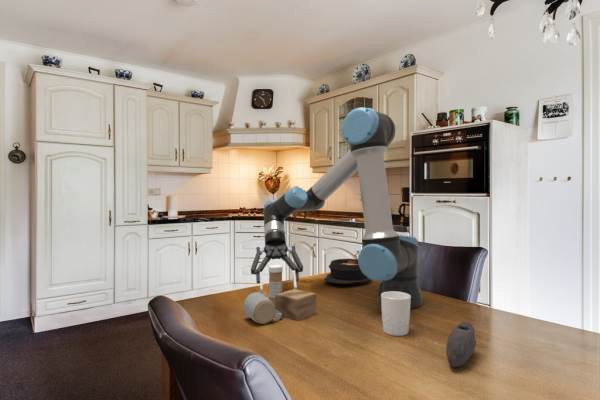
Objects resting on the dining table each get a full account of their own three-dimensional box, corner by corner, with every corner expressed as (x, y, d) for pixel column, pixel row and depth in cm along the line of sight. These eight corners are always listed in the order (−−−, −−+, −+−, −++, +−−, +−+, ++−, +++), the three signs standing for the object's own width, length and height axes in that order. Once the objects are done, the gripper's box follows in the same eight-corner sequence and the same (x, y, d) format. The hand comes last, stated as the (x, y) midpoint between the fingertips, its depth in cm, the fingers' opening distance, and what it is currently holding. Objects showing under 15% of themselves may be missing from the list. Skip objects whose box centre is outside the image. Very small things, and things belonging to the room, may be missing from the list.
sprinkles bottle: (274, 303, 131) (274, 263, 131) (285, 305, 129) (285, 265, 128) (265, 306, 127) (265, 266, 127) (277, 308, 125) (277, 267, 124)
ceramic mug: (253, 327, 108) (254, 300, 108) (242, 319, 115) (243, 293, 115) (287, 321, 113) (287, 295, 113) (274, 313, 120) (275, 289, 120)
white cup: (411, 328, 107) (411, 292, 107) (409, 338, 100) (410, 300, 100) (382, 325, 110) (382, 290, 110) (378, 334, 103) (379, 297, 102)
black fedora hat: (345, 273, 178) (345, 255, 178) (382, 279, 167) (382, 260, 166) (313, 283, 159) (313, 263, 159) (352, 291, 147) (352, 269, 147)
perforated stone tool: (463, 376, 80) (463, 343, 80) (437, 369, 83) (437, 337, 83) (479, 351, 92) (479, 323, 92) (456, 346, 95) (456, 318, 95)
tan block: (316, 313, 120) (316, 293, 120) (297, 320, 113) (297, 299, 113) (294, 307, 126) (294, 288, 126) (275, 314, 119) (275, 294, 119)
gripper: (305, 241, 145) (312, 294, 130) (243, 243, 142) (243, 297, 127) (306, 228, 139) (314, 282, 124) (242, 231, 137) (242, 286, 122)
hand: (278, 290), depth 126 cm, fingers open, 10 cm apart
